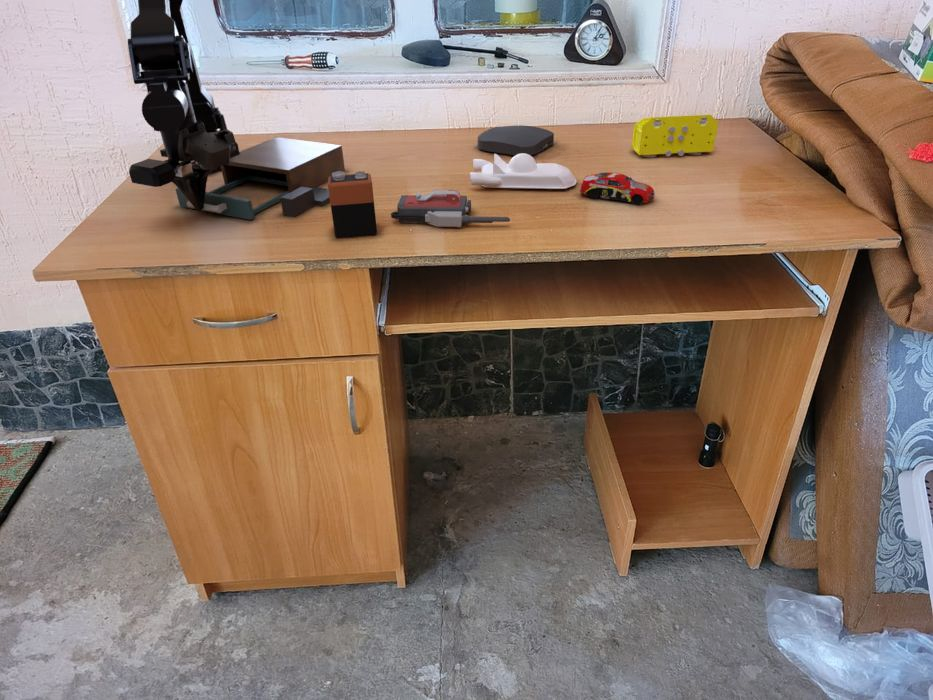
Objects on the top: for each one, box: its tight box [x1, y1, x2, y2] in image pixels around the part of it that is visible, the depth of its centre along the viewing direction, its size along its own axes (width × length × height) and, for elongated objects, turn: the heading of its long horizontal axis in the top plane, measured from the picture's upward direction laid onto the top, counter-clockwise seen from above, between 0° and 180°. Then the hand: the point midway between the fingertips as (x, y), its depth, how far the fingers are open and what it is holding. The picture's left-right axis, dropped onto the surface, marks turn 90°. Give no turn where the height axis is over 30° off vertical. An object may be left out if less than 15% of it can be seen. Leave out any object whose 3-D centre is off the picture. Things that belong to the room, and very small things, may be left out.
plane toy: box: [469, 153, 577, 190], centre depth 123 cm, size 10×20×6 cm, turn 86°
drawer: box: [175, 175, 289, 221], centre depth 119 cm, size 19×17×3 cm
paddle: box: [279, 186, 330, 218], centre depth 117 cm, size 6×12×3 cm, turn 155°
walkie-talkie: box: [390, 189, 511, 228], centre depth 109 cm, size 9×4×20 cm
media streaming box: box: [477, 124, 555, 156], centre depth 145 cm, size 15×15×3 cm
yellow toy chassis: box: [631, 114, 719, 158], centre depth 136 cm, size 16×6×8 cm, turn 95°
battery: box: [327, 170, 378, 239], centre depth 104 cm, size 4×7×10 cm, turn 100°
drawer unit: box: [221, 136, 346, 193], centre depth 128 cm, size 17×17×5 cm
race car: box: [579, 172, 656, 206], centre depth 117 cm, size 13×5×4 cm, turn 63°
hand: (199, 209), depth 112 cm, fingers closed
